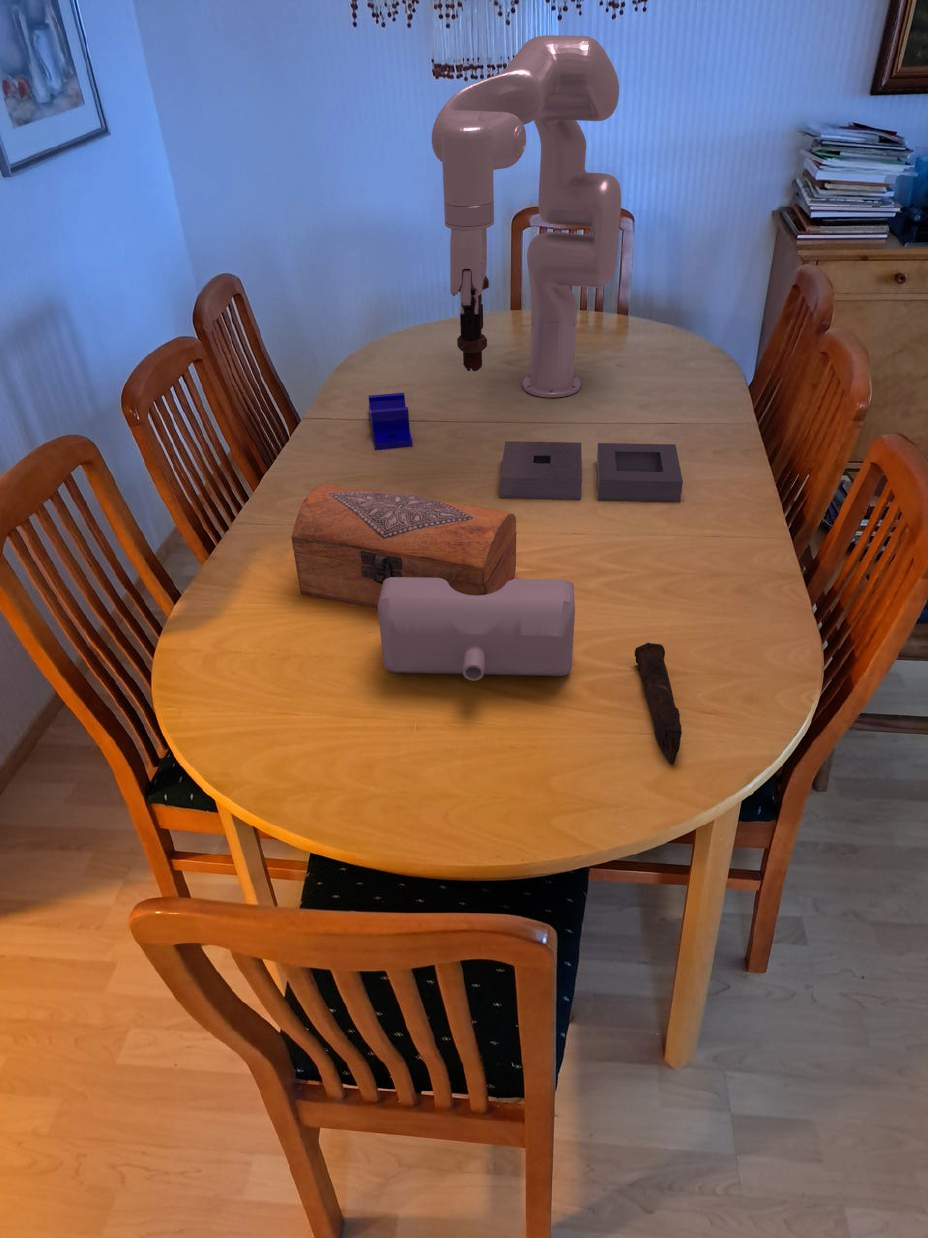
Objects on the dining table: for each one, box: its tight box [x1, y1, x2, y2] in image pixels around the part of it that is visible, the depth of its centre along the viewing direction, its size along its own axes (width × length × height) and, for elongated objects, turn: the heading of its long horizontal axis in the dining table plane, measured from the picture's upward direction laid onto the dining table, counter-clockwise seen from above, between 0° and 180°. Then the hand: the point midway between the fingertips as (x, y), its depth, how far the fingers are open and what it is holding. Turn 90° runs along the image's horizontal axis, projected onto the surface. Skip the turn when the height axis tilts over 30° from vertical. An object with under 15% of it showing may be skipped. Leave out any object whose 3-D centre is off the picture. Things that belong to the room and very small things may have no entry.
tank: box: [377, 577, 576, 682], centre depth 117 cm, size 25×16×12 cm, turn 86°
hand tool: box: [634, 642, 682, 765], centre depth 112 cm, size 19×4×5 cm, turn 177°
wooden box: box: [291, 483, 517, 609], centre depth 133 cm, size 30×16×14 cm, turn 70°
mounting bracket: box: [367, 392, 414, 451], centre depth 180 cm, size 18×7×6 cm, turn 9°
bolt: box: [456, 275, 490, 372], centre depth 147 cm, size 6×5×15 cm
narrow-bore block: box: [499, 440, 583, 501], centre depth 161 cm, size 14×14×4 cm
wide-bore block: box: [595, 442, 684, 503], centre depth 160 cm, size 14×14×4 cm
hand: (472, 331), depth 147 cm, fingers closed on bolt, 3 cm apart
